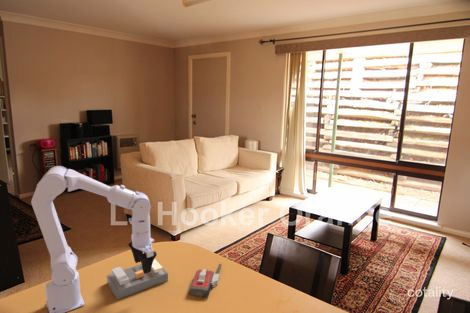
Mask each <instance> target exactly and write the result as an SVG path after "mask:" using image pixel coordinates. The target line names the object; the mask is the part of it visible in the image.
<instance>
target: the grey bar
mask: <svg viewBox="0 0 470 313" xmlns="http://www.w3.org/2000/svg"><path fill="white" fill-rule="evenodd" d="M123 270H124V269H123V268H122V266H117V267H114V268H112V269H111V274H112V273H113V275H114V276H115V278H116V279H117V281H118V283H119V284H120V285H122V284H125V283H128V282H129V278H128V276H127V275H126V274H125V272H124V271H123Z"/></svg>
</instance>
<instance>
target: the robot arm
mask: <svg viewBox="0 0 470 313" xmlns="http://www.w3.org/2000/svg"><path fill="white" fill-rule="evenodd" d="M66 189H67V192H72V191H75V190H78V189H79V190H80V189H81V190H83V191H87V192H90V193H93V194H96V195H99V196H102V197H105V198H106V199H107V202H108V203H110V204H113V205H116V206H118V207H121V208H124V209H126V210H131V212H132V215H131V231H132V232H131V233H132V234H131V235H130V236H131V237H130V238H131V241H132V242H129V243H128V247H129V248H130V250H131V252H132V256H133V259H134V263H135V264H138V263H140V264H142V269H143V272H144V274H146V273H149V272H150V271H151V267H152V263H153V261H154V259H155V260H156V258H157V252H156V251H154V249H153V244H152V243H155V239H154V238H152V237H151V236H152V235H151V234H152V233H151V216H150V214H151V212H150V211H151V209H152V206H151V203H150V199H149V197H148V195H146V194H145V193H144V192H142V191H138V190H136V191H133V190H130V189H128V188H126V186H125V185H124V184H120V185H118V184H115V185H112V186H110V185H107V184H105V183H103V182H100V181H99V180H96V179H94V178H92V177H90V176H87V175H85V174H82V173H80V172H78V171H76V170H74V169H71V168H67V167H64V166H62V165H56V166H52V167H51V168H49V169H48V171H47V172H46V173H44V175H43V176H42V178H41V179H40V180H39V182H38V183H37V184H36V188H35V191H34V193H33V195H32V198H31V202H30V203H31V206H32V209H33V212H34V214H35V217H36V221H37V223H38V226H39V228H40V231H41V233H42V236H43V239H44V242H45V245H46V247H47V251H48V253H49V256H50V268H51V276H50V280H51V281H49V282H47V283H45V285H44V288H45V289H44V290H45V296H46V297H45V299H46V302H45V304H46V305H45V306H46V308H47V309H48V310H47V311H48V313H67V312H70V311H73V310H75V309H78V308H80V307H81V308H82V307H83V306H85V300H84V299H83V296H82V294H81V282H80V273H79V272H78V270H77V266H78V262H79V258H78V256H77V255H76V253H74V251H72V247H70V246H69V245H68V243H67V242H68V241H67V240H66V237H65V234H64V231H63V228H62V225H61V222H60V219H59V217H58V213H57V211H56V207H55V204H54V202H53V201H54V200H55V199H56V198H57V196H59V195H61V194H63V192H64V191H65V190H66Z"/></svg>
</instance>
